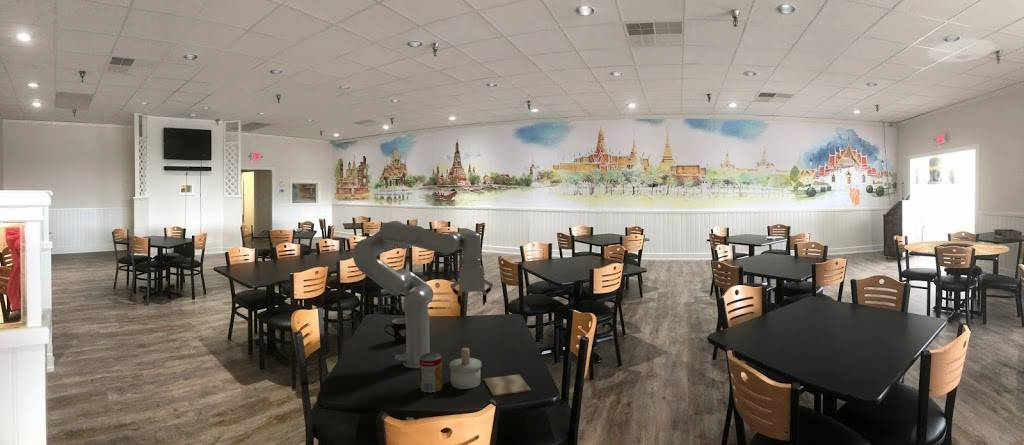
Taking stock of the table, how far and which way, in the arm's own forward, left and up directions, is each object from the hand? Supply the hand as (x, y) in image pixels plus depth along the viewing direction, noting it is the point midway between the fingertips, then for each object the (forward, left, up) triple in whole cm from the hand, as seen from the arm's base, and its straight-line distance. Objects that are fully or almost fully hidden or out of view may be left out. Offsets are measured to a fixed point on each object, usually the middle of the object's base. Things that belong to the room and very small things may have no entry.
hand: (472, 304), depth 194 cm
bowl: (-6, -17, -25) cm, 31 cm away
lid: (-6, -17, -19) cm, 26 cm away
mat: (+8, -24, -25) cm, 36 cm away
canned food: (-19, -18, -25) cm, 37 cm away
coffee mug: (-27, +38, -25) cm, 53 cm away
